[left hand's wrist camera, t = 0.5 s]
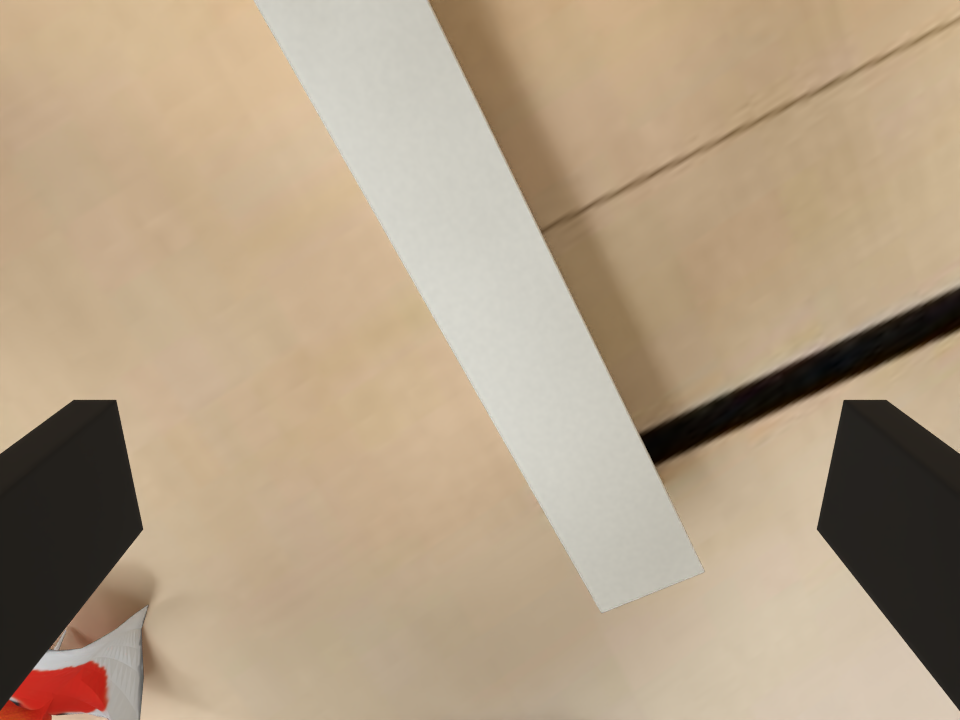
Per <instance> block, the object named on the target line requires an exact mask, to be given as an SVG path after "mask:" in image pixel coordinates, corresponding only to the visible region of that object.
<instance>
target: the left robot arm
mask: <svg viewBox="0 0 960 720" xmlns="http://www.w3.org/2000/svg"><path fill="white" fill-rule="evenodd" d="M142 530H143V526H142V521H141V517H140V512H139V507H138V502H137V497H136V493H135V488H134V483H133V478H132V473H131V469H130V464H129V459H128V454H127V449H126V445H125V440H124V435H123V430H122V425H121V421H120V416H119V411H118V406H117V401H116V400H73V401H72V402H70V403H69V404H68V405H66V406H65V407H64V408H62V409H61V410H59V411H58V412H57V413H55V414H54V415H53V416H51V417H50V418H49V419H47V420H46V421H45V422H43V423H42V424H40V425H39V426H38V427H36V428H35V429H34V430H32V431H31V432H30V433H28V434H27V435H25V436H24V437H23V438H21V439H20V440H19V441H17V442H16V443H15V444H13V445H12V446H10V447H9V448H8V449H6V450H5V451H4V452H2V453H1V454H0V711H1V709H2V708H3V707H4V705H5V704H6V703H7V702H8V700H9V699H10V698H11V697H12V695H13V694H14V693H15V691H16V690H17V689H18V688H19V686H20V685H21V684H22V683H23V681H24V680H25V679H26V677H27V676H28V675H29V674H30V672H31V671H32V670H33V669H34V667H35V666H36V665H37V664H38V662H39V661H40V660H41V658H42V657H43V656H44V655H45V653H46V652H47V651H48V650H49V648H50V647H51V646H52V644H53V643H54V642H55V641H56V639H57V638H58V637H59V636H60V634H61V633H62V632H63V630H64V629H65V628H66V627H67V625H68V624H69V623H70V622H71V620H72V619H73V618H74V617H75V615H76V614H77V613H78V611H79V610H80V609H81V608H82V606H83V605H84V604H85V603H86V601H87V600H88V599H89V597H90V596H91V595H92V594H93V592H94V591H95V590H96V589H97V587H98V586H99V585H100V583H101V582H102V581H103V580H104V578H105V577H106V576H107V575H108V573H109V572H110V571H111V570H112V568H113V567H114V566H115V564H116V563H117V562H118V561H119V559H120V558H121V557H122V556H123V554H124V553H125V552H126V550H127V549H128V548H129V547H130V545H131V544H132V543H133V542H134V540H135V539H136V538H137V536H138V535H139V534H140V533H141V531H142ZM817 530H818V531H819V533H820V534H821V535H822V536H823V538H824V539H825V540H826V542H827V543H828V544H829V545H830V547H831V548H832V549H833V550H834V552H835V553H836V554H837V556H838V557H839V558H840V559H841V561H842V562H843V563H844V564H845V566H846V567H847V568H848V570H849V571H850V572H851V573H852V575H853V576H854V577H855V578H856V580H857V581H858V582H859V583H860V585H861V586H862V587H863V589H864V590H865V591H866V592H867V594H868V595H869V596H870V597H871V599H872V600H873V601H874V603H875V604H876V605H877V606H878V608H879V609H880V610H881V611H882V613H883V614H884V615H885V617H886V618H887V619H888V620H889V622H890V623H891V624H892V625H893V627H894V628H895V629H896V630H897V632H898V633H899V634H900V636H901V637H902V638H903V639H904V641H905V642H906V643H907V644H908V646H909V647H910V648H911V650H912V651H913V652H914V653H915V655H916V656H917V657H918V658H919V660H920V661H921V662H922V664H923V665H924V666H925V667H926V669H927V670H928V671H929V672H930V674H931V675H932V676H933V677H934V679H935V680H936V681H937V683H938V684H939V685H940V686H941V688H942V689H943V690H944V691H945V693H946V694H947V695H948V697H949V698H950V699H951V700H952V702H953V703H954V704H955V705H956V707H957V708H958V709H959V711H960V454H959V453H958V452H956V451H955V450H954V449H952V448H951V447H950V446H948V445H947V444H945V443H944V442H943V441H941V440H940V439H939V438H937V437H936V436H935V435H933V434H932V433H930V432H929V431H928V430H926V429H925V428H924V427H922V426H921V425H920V424H918V423H917V422H915V421H914V420H913V419H911V418H910V417H909V416H907V415H906V414H905V413H903V412H902V411H901V410H899V409H898V408H896V407H895V406H894V405H892V404H891V403H890V402H888V401H887V400H844V401H843V406H842V411H841V416H840V421H839V425H838V430H837V435H836V440H835V445H834V449H833V454H832V459H831V464H830V469H829V473H828V478H827V483H826V488H825V493H824V497H823V502H822V507H821V512H820V517H819V521H818V526H817Z"/></svg>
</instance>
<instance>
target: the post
mask: <svg viewBox="0 0 960 720" xmlns="http://www.w3.org/2000/svg"><path fill="white" fill-rule="evenodd" d="M254 2H255V4H256V6H257V7H258V9H259V11H260V13H261V14H262V16H263V18H264V20H265V21H266V23H267V25H268V27H269V28H270V30H271V32H272V34H273V35H274V37H275V39H276V41H277V43H278V44H279V46H280V48H281V50H282V51H283V53H284V55H285V57H286V58H287V60H288V62H289V64H290V65H291V67H292V69H293V71H294V72H295V74H296V76H297V78H298V80H299V81H300V83H301V85H302V87H303V88H304V90H305V92H306V94H307V95H308V97H309V99H310V101H311V102H312V104H313V106H314V108H315V110H316V111H317V113H318V115H319V117H320V118H321V120H322V122H323V124H324V125H325V127H326V129H327V131H328V132H329V134H330V136H331V138H332V139H333V141H334V143H335V145H336V147H337V148H338V150H339V152H340V154H341V155H342V157H343V159H344V161H345V162H346V164H347V166H348V168H349V169H350V171H351V173H352V175H353V176H354V178H355V180H356V182H357V184H358V185H359V187H360V189H361V191H362V192H363V194H364V196H365V198H366V199H367V201H368V203H369V205H370V206H371V208H372V210H373V212H374V213H375V215H376V217H377V219H378V221H379V222H380V224H381V226H382V228H383V229H384V231H385V233H386V235H387V236H388V238H389V240H390V242H391V243H392V245H393V247H394V249H395V250H396V252H397V254H398V256H399V258H400V259H401V261H402V263H403V265H404V266H405V268H406V270H407V272H408V273H409V275H410V277H411V279H412V280H413V282H414V284H415V286H416V287H417V289H418V291H419V293H420V295H421V296H422V298H423V300H424V302H425V303H426V305H427V307H428V309H429V310H430V312H431V314H432V316H433V317H434V319H435V321H436V323H437V325H438V326H439V328H440V330H441V332H442V333H443V335H444V337H445V339H446V340H447V342H448V344H449V346H450V347H451V349H452V351H453V353H454V354H455V356H456V358H457V360H458V362H459V363H460V365H461V367H462V369H463V370H464V372H465V374H466V376H467V377H468V379H469V381H470V383H471V384H472V386H473V388H474V390H475V391H476V393H477V395H478V397H479V399H480V400H481V402H482V404H483V406H484V407H485V409H486V411H487V413H488V414H489V416H490V418H491V420H492V421H493V423H494V425H495V427H496V428H497V430H498V432H499V434H500V436H501V437H502V439H503V441H504V443H505V444H506V446H507V448H508V450H509V451H510V453H511V455H512V457H513V458H514V460H515V462H516V464H517V465H518V467H519V469H520V471H521V473H522V474H523V476H524V478H525V480H526V481H527V483H528V485H529V487H530V488H531V490H532V492H533V494H534V495H535V497H536V499H537V501H538V502H539V504H540V506H541V508H542V510H543V511H544V513H545V515H546V517H547V518H548V520H549V522H550V524H551V525H552V527H553V529H554V531H555V532H556V534H557V536H558V538H559V540H560V541H561V543H562V545H563V547H564V548H565V550H566V552H567V554H568V555H569V557H570V559H571V561H572V562H573V564H574V566H575V568H576V569H577V571H578V573H579V575H580V577H581V578H582V580H583V582H584V584H585V585H586V587H587V589H588V591H589V592H590V594H591V596H592V598H593V599H594V601H595V603H596V605H597V606H598V608H599V610H600V612H601V613H604V612H606V611H609V610H611V609H614V608H616V607H619V606H621V605H624V604H626V603H629V602H631V601H634V600H636V599H639V598H641V597H644V596H646V595H649V594H651V593H654V592H656V591H659V590H661V589H664V588H666V587H669V586H671V585H674V584H676V583H679V582H681V581H684V580H686V579H689V578H691V577H694V576H696V575H699V574H701V573H704V572H705V570H704V568H703V566H702V564H701V562H700V560H699V558H698V556H697V554H696V552H695V549H694V547H693V545H692V543H691V541H690V539H689V537H688V535H687V533H686V531H685V528H684V526H683V524H682V522H681V520H680V518H679V516H678V514H677V512H676V509H675V507H674V505H673V503H672V501H671V499H670V497H669V495H668V493H667V491H666V488H665V486H664V484H663V482H662V480H661V478H660V476H659V474H658V472H657V470H656V468H655V466H654V464H653V462H652V460H651V457H650V455H649V453H648V451H647V449H646V447H645V445H644V443H643V441H642V439H641V437H640V435H639V433H638V431H637V429H636V427H635V424H634V422H633V420H632V418H631V416H630V414H629V412H628V410H627V408H626V406H625V404H624V402H623V400H622V398H621V396H620V394H619V392H618V389H617V387H616V385H615V383H614V381H613V379H612V377H611V375H610V373H609V371H608V369H607V367H606V365H605V363H604V361H603V359H602V356H601V354H600V352H599V350H598V348H597V346H596V344H595V342H594V340H593V338H592V336H591V334H590V332H589V330H588V328H587V326H586V324H585V321H584V319H583V317H582V315H581V313H580V311H579V309H578V307H577V305H576V303H575V301H574V299H573V297H572V295H571V293H570V291H569V288H568V286H567V284H566V282H565V280H564V278H563V276H562V274H561V272H560V270H559V268H558V266H557V264H556V262H555V260H554V258H553V256H552V253H551V251H550V249H549V247H548V245H547V243H546V241H545V239H544V237H543V235H542V233H541V231H540V229H539V227H538V225H537V223H536V220H535V218H534V216H533V214H532V212H531V210H530V208H529V206H528V204H527V202H526V200H525V198H524V196H523V194H522V192H521V190H520V188H519V185H518V183H517V181H516V179H515V177H514V175H513V173H512V171H511V169H510V167H509V165H508V163H507V161H506V159H505V157H504V155H503V152H502V150H501V148H500V146H499V144H498V142H497V140H496V138H495V136H494V134H493V132H492V130H491V128H490V126H489V124H488V122H487V120H486V117H485V115H484V113H483V111H482V109H481V107H480V105H479V103H478V101H477V99H476V97H475V95H474V93H473V91H472V89H471V87H470V84H469V82H468V80H467V78H466V76H465V74H464V72H463V70H462V68H461V66H460V64H459V62H458V60H457V58H456V56H455V54H454V51H453V49H452V47H451V45H450V43H449V41H448V39H447V37H446V35H445V33H444V31H443V29H442V27H441V25H440V23H439V21H438V19H437V16H436V14H435V12H434V10H433V8H432V6H431V4H430V2H429V0H254Z"/></svg>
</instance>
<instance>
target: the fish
mask: <svg viewBox="0 0 960 720" xmlns="http://www.w3.org/2000/svg"><path fill="white" fill-rule="evenodd" d="M147 608H148V605H147V606H145V607H144V608H143V609H141V610H140V611H138V612H137V613H135V614H134V615H133V616H132V617H130V618H129V619H128V620H126V621H125V622H124V623H123V624H121V625H120V626H119V627H118V628H116V629H115V630H114V631H112V632H110V633H109V634H107V635H105V636H103V637H102V638H100V639H98V640H96V641H94V642H93V643H91V644H89V645H87V646H85V647H83V648H81V649H71V650H61V651H59V648H60V646H61V643H62V641H63V638H64V635H65V633H66V630H65V631H64V632H63V634H62V636H61V638H60V639H59V641H58V643H57V644H56V646H55V648H54V650H50V649H49V650H48V651H47V652H46V653H45V655H44V656H43V657H42V658H41V660H40V661H39V662H38V664H37V665H36V666H35V667H34V669H33V670H32V671H31V672H30V674H29V675H28V676H27V677H26V679H25V680H24V681H23V683H22V684H21V685H20V686H19V688H18V689H17V690H16V691H15V693H14V694H13V695H12V697H11V698H10V699H9V700H8V702H7V703H6V704H5V705H4V707H3V708H2V709H1V711H0V720H51V719H52V716H51V715H67V714H80V713H87V714H91V715H95V716H99V717H105V718H107V719H108V720H140V713H141V702H142V691H143V679H144V676H143V655H142V626H143V622H144V619H145V616H146V612H147Z"/></svg>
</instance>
